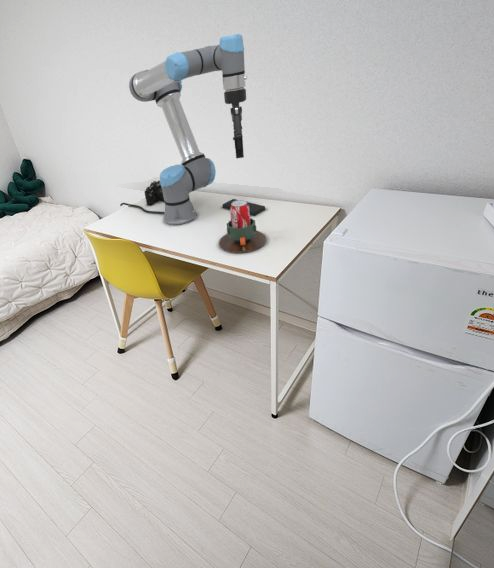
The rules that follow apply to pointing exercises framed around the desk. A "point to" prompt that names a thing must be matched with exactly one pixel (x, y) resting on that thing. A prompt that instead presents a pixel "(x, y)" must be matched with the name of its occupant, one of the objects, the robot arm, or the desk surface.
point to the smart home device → (253, 207)
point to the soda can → (240, 214)
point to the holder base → (249, 246)
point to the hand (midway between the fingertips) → (239, 152)
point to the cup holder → (241, 232)
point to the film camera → (154, 193)
